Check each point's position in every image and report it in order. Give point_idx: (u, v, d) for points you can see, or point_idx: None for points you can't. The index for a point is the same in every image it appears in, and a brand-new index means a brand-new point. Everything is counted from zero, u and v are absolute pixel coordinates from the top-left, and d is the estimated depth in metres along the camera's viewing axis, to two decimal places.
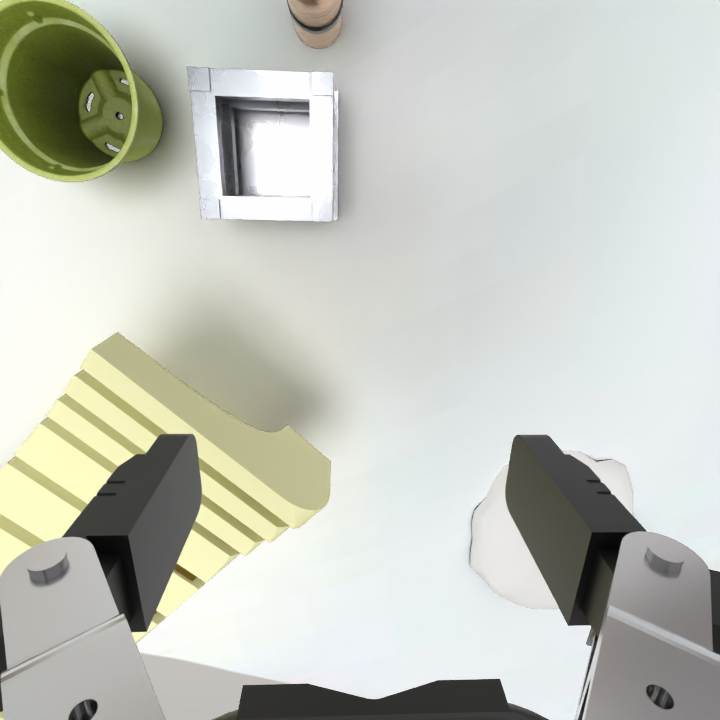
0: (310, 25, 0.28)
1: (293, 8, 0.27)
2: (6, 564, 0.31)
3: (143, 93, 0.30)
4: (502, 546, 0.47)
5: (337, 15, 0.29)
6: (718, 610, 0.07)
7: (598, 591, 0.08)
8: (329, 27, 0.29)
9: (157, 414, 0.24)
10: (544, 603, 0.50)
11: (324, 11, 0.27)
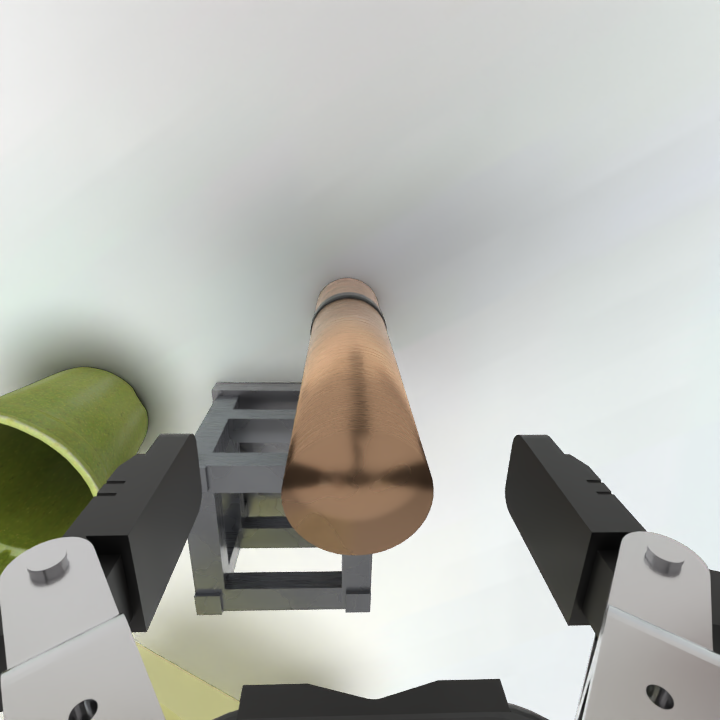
0: None
1: None
2: None
3: (119, 441, 0.22)
4: None
5: None
6: (718, 610, 0.07)
7: (598, 591, 0.08)
8: None
9: None
10: None
11: None
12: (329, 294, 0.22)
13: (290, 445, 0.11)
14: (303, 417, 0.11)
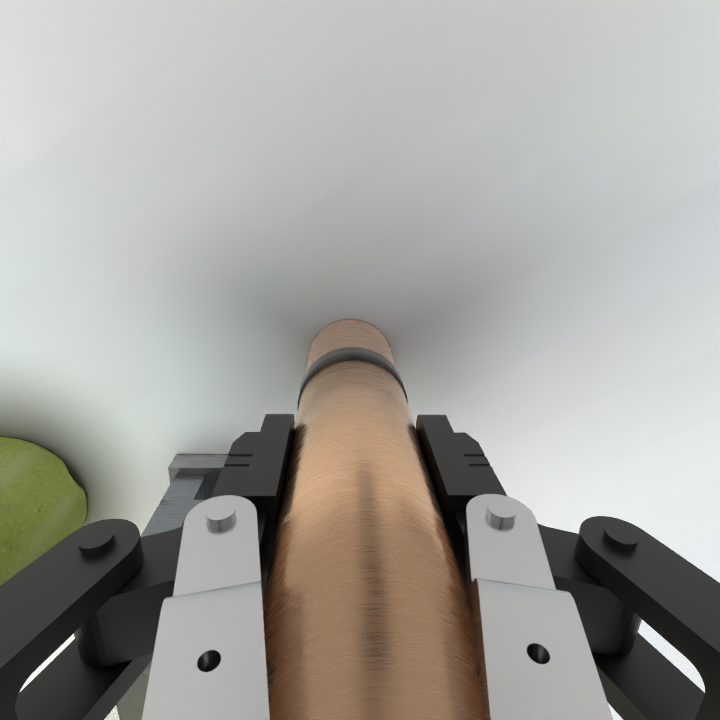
0: None
1: None
2: None
3: (30, 553, 0.16)
4: None
5: None
6: None
7: (455, 548, 0.09)
8: None
9: None
10: None
11: None
12: (325, 347, 0.16)
13: None
14: None
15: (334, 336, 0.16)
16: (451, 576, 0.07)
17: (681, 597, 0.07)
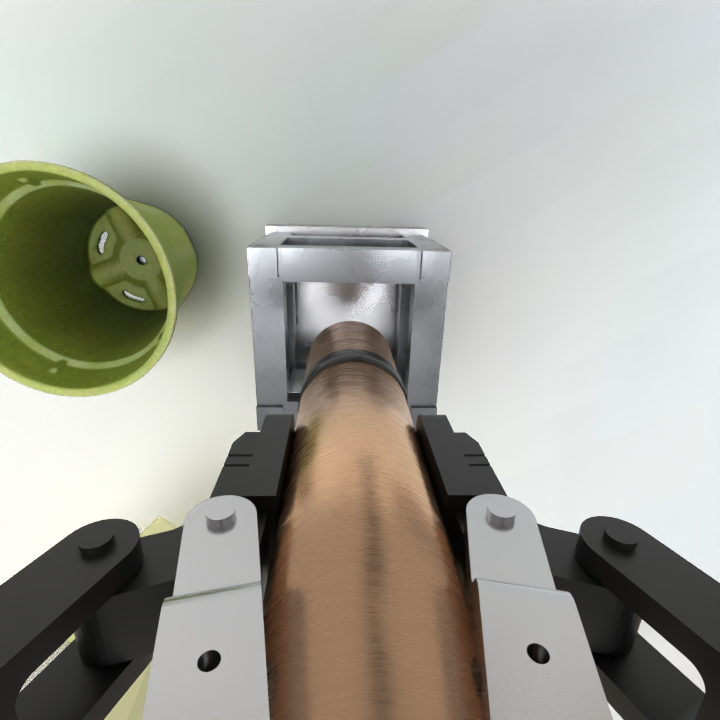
0: None
1: None
2: None
3: (177, 255, 0.22)
4: None
5: None
6: None
7: (455, 548, 0.09)
8: None
9: None
10: None
11: None
12: (325, 349, 0.16)
13: None
14: None
15: (334, 338, 0.16)
16: (450, 579, 0.07)
17: (681, 597, 0.07)
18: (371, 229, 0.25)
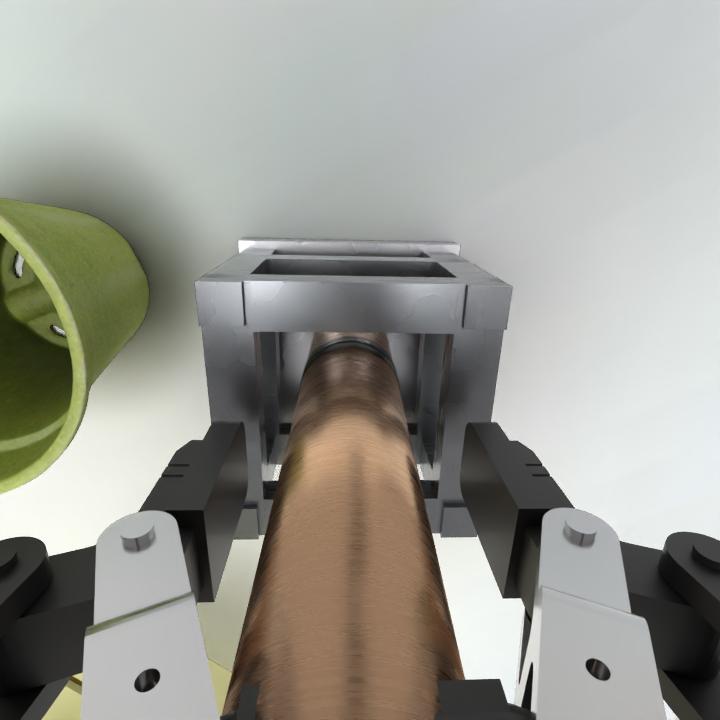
0: None
1: None
2: None
3: (107, 285, 0.15)
4: None
5: None
6: (626, 578, 0.07)
7: (525, 564, 0.09)
8: None
9: None
10: None
11: None
12: (325, 337, 0.17)
13: (226, 695, 0.06)
14: (253, 634, 0.06)
15: None
16: (418, 526, 0.08)
17: None
18: (382, 244, 0.19)
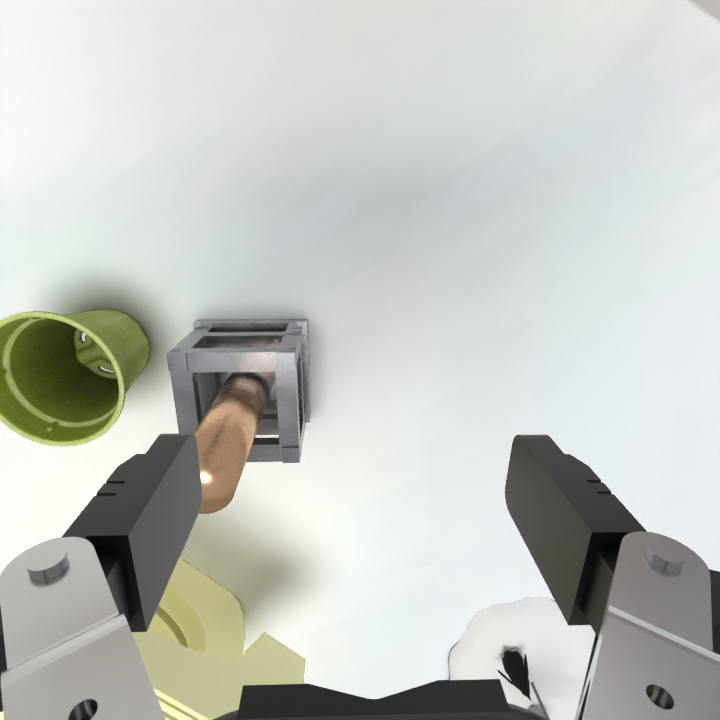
0: None
1: None
2: None
3: (130, 350, 0.34)
4: None
5: (264, 407, 0.34)
6: (718, 610, 0.07)
7: (598, 591, 0.08)
8: None
9: None
10: None
11: None
12: None
13: None
14: None
15: None
16: (238, 430, 0.26)
17: None
18: (266, 323, 0.37)
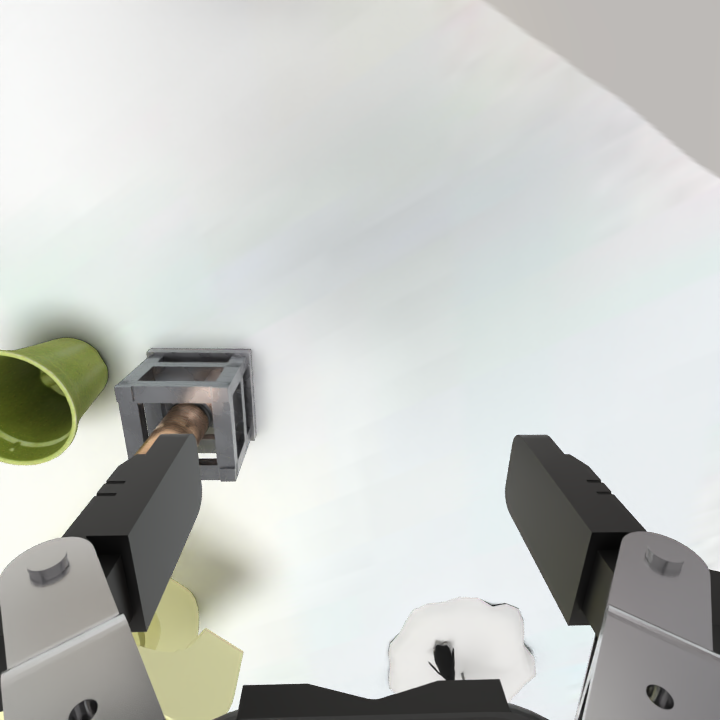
0: None
1: None
2: None
3: (86, 379, 0.38)
4: (412, 676, 0.55)
5: (206, 431, 0.39)
6: (718, 610, 0.07)
7: (598, 591, 0.08)
8: None
9: None
10: None
11: None
12: None
13: None
14: None
15: None
16: None
17: None
18: (212, 353, 0.41)
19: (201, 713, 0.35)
